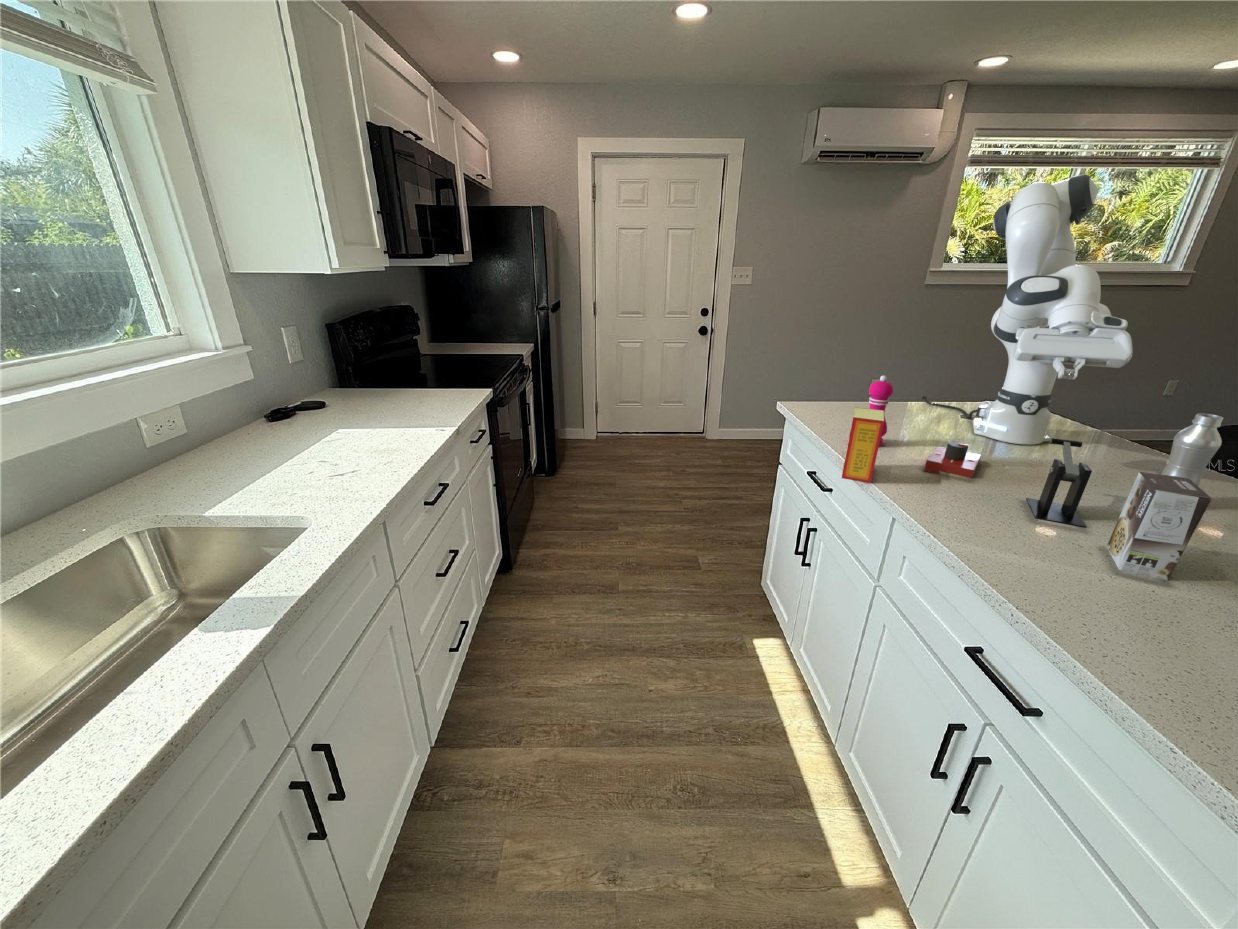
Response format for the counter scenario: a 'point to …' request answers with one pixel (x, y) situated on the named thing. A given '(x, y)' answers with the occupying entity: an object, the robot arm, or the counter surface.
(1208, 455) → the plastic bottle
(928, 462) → the dial panel
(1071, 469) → the press lever
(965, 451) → the dial
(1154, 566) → the coffee box
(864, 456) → the baking soda box
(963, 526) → the counter surface
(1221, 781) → the counter surface
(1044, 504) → the bracket
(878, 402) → the pepper mill
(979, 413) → the robot arm
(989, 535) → the counter surface
